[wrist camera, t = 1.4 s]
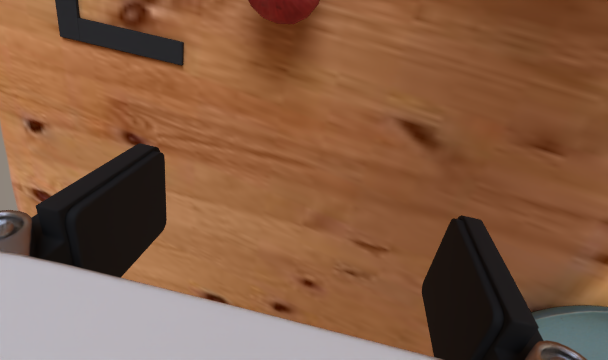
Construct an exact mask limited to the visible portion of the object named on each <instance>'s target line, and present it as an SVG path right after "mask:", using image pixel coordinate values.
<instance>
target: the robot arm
mask: <svg viewBox="0 0 608 360" xmlns="http://www.w3.org/2000/svg"><path fill="white" fill-rule="evenodd" d="M36 209H37V213H38V214H37V215H35V216H34V217H32V218H31V217H30V216H29V215H28V214H27V213H24V212H21V211H13V210H4V211H0V360H587V359H586V358H585V357H583V356H582V355H581V354H580V353H578V352H576V351H575V350H573V349H571V348H569V347H568V346H565V345H563V344H560V343H558V342H554V341H548V340H546V341H544V340H543V338H542V336H541V335H540V333H539V331H538V328H539V326H538V324H537V323H536V321H535V319H534V317H533V315H532V313H531V311H530V310H529V308H528V306H527V304H526V302H525V300H524V298H523V296H522V295H521V293H520V291H519V289H518V287H517V285H516V283H515V282H514V280H513V278H512V276H511V274H510V272H509V270H508V269H507V267H506V265H505V263H504V261H503V259H502V257H501V255H500V254H499V252H498V250H497V248H496V246H495V244H494V242H493V241H492V239H491V237H490V235H489V233H488V231H487V229H486V228H485V226H484V224H483V222H482V221H481V220H479V219H475V218H471V217H466V216H462V215H461V216H459V217H458V219H452V220H451V222H450V224H449V226H448V228H447V230H446V233H445V235H444V237H443V239H442V242H441V244H440V246H439V248H438V250H437V253H436V255H435V257H434V259H433V262H432V264H431V266H430V268H429V271H428V273H427V275H426V277H425V279H424V282H423V285H422V296H423V301H424V306H425V311H426V317H427V322H428V327H429V332H430V337H431V342H432V348H433V353H434V357H432V356H428V355H424V354H420V353H416V352H412V351H408V350H405V349H401V348H397V347H393V346H389V345H385V344H381V343H377V342H374V341H370V340H366V339H362V338H358V337H354V336H350V335H346V334H342V333H339V332H335V331H331V330H327V329H323V328H319V327H315V326H311V325H307V324H304V323H300V322H296V321H292V320H288V319H284V318H280V317H276V316H272V315H268V314H264V313H260V312H256V311H252V310H248V309H244V308H240V307H236V306H232V305H228V304H224V303H220V302H216V301H212V300H208V299H204V298H200V297H197V296H193V295H188V294H184V293H180V292H176V291H172V290H168V289H164V288H160V287H156V286H152V285H148V284H144V283H140V282H136V281H132V280H128V279H124V278H121V277H122V275H123V274H124V273H125V272H126V271H127V270H128V269H129V268H130V267H131V266H132V264H133V263H134V262H135V261H136V260H137V259H138V258H139V257H140V256H141V254H142V253H143V252H144V251H145V250H146V249H147V248H148V247H149V246H150V244H151V243H152V242H153V241H154V240H155V239H156V238H157V237H158V236H159V235H160V233H161V232H162V231H163V230H164V228H165V225H166V191H165V160H164V154H163V153H161V152H160V150H159V148H157V147H154V146H149V145H145V144H137V145H135V146H134V147H132V148H130V149H129V150H127V151H125V152H124V153H122V154H120V155H119V156H117V157H115V158H114V159H112V160H111V161H109V162H107V163H106V164H104V165H102V166H101V167H99V168H97V169H96V170H94V171H92V172H91V173H89V174H87V175H86V176H84V177H83V178H81V179H79V180H78V181H76V182H74V183H73V184H71V185H69V186H68V187H66V188H64V189H63V190H61V191H59V192H58V193H56V194H54V195H53V196H51V197H50V198H48V199H46V200H45V201H43V202H41V203H40V204H38V205H36Z"/></svg>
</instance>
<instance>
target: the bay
mask: <svg viewBox="0 0 608 360" xmlns="http://www.w3.org/2000/svg"><path fill="white" fill-rule="evenodd" d="M55 2H56V9H57V16H58V24H59V31H60V36H61V37H65V38H69V39H73V40H77V41H82V42H86V43H90V44H94V45H98V46H103V47H107V48H111V49H115V50H119V51H124V52H128V53H132V54H136V55H140V56H145V57H149V58H153V59H157V60H161V61H166V62H170V63H174V64H178V65H183V46H184V42H180V41H176V40H171V39H167V38H163V37H159V36H154V35H150V34H146V33H142V32H137V31H133V30H129V29H125V28H120V27H116V26H112V25H107V24H103V23H99V22H95V21H90V20H86V19H82V18H80V17H79V7H78V0H55Z"/></svg>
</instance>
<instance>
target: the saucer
mask: <svg viewBox="0 0 608 360" xmlns="http://www.w3.org/2000/svg"><path fill="white" fill-rule="evenodd" d="M532 315H533V317H534V319H535V321H536V323H537V324H538V326H539V328H538V331H539V333H540V335H541V336H542V338H543V340H544V341H546V340H548V341H554V342H558V343H560V344H563V345H565V346H568V347H569V348H571V349H573V350H575V351H576V352H578V353H580V354H581V355H582V356H583V357H585V358H586V359H587V360H608V307H604V306H591V305H578V306H563V307H555V308H549V309H544V310H540V311H535V312H532Z"/></svg>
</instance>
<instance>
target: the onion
mask: <svg viewBox="0 0 608 360" xmlns="http://www.w3.org/2000/svg"><path fill="white" fill-rule="evenodd" d="M319 1H320V0H249V2H250V4H251V6H252V7H253V8H254V9H255V10H256V11H257V12H258V13H259V14H260V15H261V16H262V17H263V18H265V19H267V20H270V21H272V22H275V23H278V24H295V23H297V22H299V21H301V20H303V19H305V18H307V17H308V16H309V15H310V14H311V12H312V11H313V10H314V9H315V8H316V6H317V5H318V3H319Z"/></svg>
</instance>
